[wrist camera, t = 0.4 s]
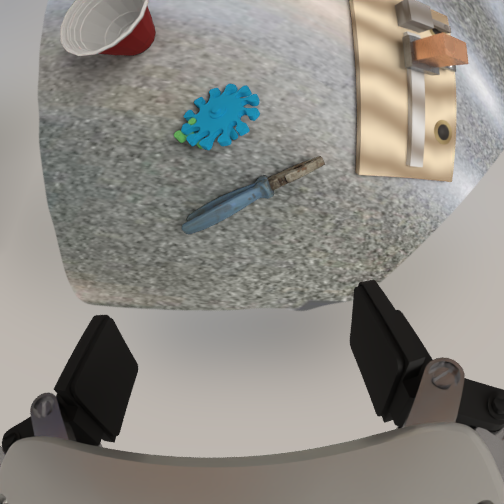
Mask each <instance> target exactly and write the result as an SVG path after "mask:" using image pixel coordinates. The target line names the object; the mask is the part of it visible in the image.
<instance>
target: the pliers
mask: <svg viewBox="0 0 504 504" xmlns="http://www.w3.org/2000/svg"><path fill="white" fill-rule="evenodd" d="M323 165H325V163H324V161H323V158H322V157H321V156H319V157H316V158H313V159H311V160H308V161H305V162H303V163H300V164H297V165H295V166H293V167H290V168H288V169H286V170H284V171H283V172H280V173H278V174H275V175H273V176H271V177H269V178H267V176H266V175H263V176H261V177H259V178H258V179H257V181H256V182H255V183H254V184H251V185H249V186H246V187H243V188H240V189H237V190H235V191H233V192H230V193H228V194H225V195H223V196H221V197H219V198H217V199H215V200H213V201H211V202H209V203H207V204H206V205H204V206H202V207H201V208H199V209H198V210H196V211H195V212H193V213H192V214H190V215H189V216H188V217H187V222H186V223H184V224H183V225H182V230H183V231H184V233H186V234H192V233H195V232H198V231H201V230H204V229H206V228H208V227H210V226H213V225H215V224H217V223H219V222H220V221H222V220H224V219H226V218H228V217H230V216H231V215H233V214H235V213H236V212H238V211H240V210H241V209H243V208H244V207H246V206H248V205H249V204H251V203H252V202H254V201H255V200H257V199H259V198H267V199H268V198H270V197H272V196H273V195H274V191H273V190H275V189H277V188H279V187H281V186H283V185H285V184H287V183H290V182H292V181H294V180H296V179H299V178H301V177H303V176H305V175H307V174H309V173H310V172H312V171H314V170H316V169H318V168H320V167H321V166H323Z"/></svg>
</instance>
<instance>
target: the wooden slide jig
mask: <svg viewBox="0 0 504 504" xmlns="http://www.w3.org/2000/svg"><path fill="white" fill-rule="evenodd" d="M349 4H350V11H351V19H352V29H353V39H354V51H355V67H356V91H357V146H356V171H355V173H357V174H358V175H372V176H390V177H404V178H417V179H428V180H438V181H447V182H452V176H453V167H454V156H455V141H456V83H455V72H451V71H449V70H444V69H443V68H441V67H439V72H440V75H433V76H431V75H428V74H425V73H422V72H418V71H415V70H411V69H407V68H405V63H404V51H403V42H402V37H404V36H406V35H412V36H415V37H418V38H421V39H422V38H425V37H429V36H432V35H435V34H439V33H442V32H443V33H445V34H448V35H450V33H451V28H450V26H449V24H448V19H447V16H445V15H443V14H441V13H438V12H436V11H434V10H431V9H430V6H428V5H425V4H423V3H420V2H418V1H415V0H349Z"/></svg>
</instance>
